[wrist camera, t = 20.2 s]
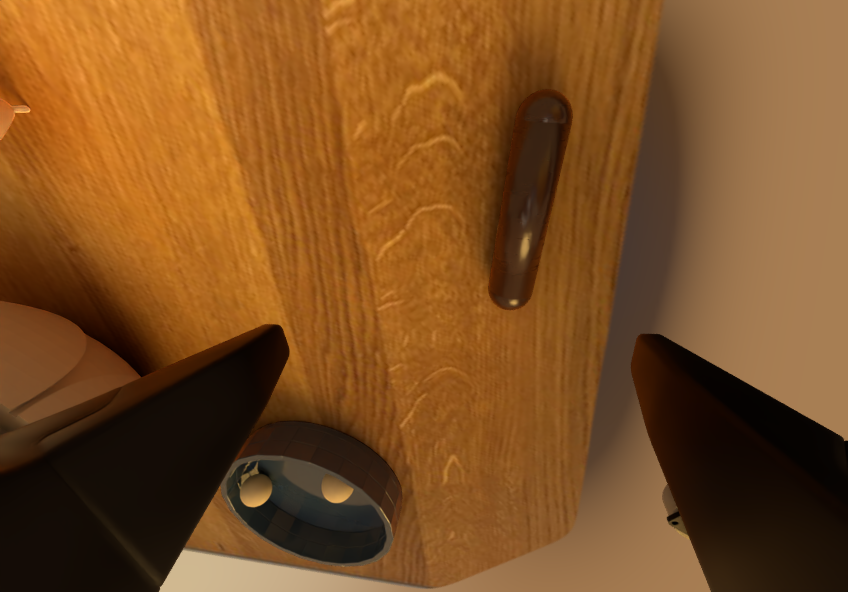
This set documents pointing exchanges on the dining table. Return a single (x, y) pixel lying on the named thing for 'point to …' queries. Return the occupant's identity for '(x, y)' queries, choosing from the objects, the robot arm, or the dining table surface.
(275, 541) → the round shallow dish
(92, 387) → the decorative bowl
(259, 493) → the dough ball
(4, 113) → the spinning top
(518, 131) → the stick
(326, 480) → the dough ball
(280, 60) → the dining table surface
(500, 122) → the dining table surface
